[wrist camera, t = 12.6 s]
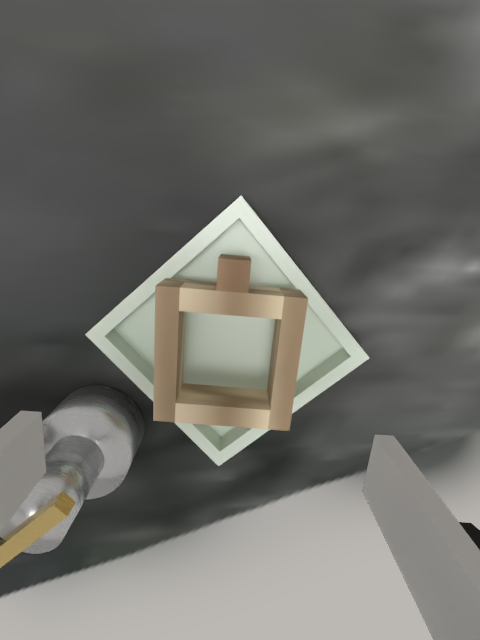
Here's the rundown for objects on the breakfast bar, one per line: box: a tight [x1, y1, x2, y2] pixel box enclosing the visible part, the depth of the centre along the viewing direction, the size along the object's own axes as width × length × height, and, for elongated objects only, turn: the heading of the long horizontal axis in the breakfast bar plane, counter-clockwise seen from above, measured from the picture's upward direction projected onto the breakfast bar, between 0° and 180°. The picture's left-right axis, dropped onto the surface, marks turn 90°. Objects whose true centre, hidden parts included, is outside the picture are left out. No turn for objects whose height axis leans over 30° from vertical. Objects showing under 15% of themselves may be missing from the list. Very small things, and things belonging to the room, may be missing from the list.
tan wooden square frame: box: [153, 254, 308, 431], centre depth 23 cm, size 10×12×3 cm
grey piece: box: [0, 385, 145, 568], centre depth 24 cm, size 8×8×12 cm
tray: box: [85, 196, 369, 466], centre depth 26 cm, size 15×15×2 cm
